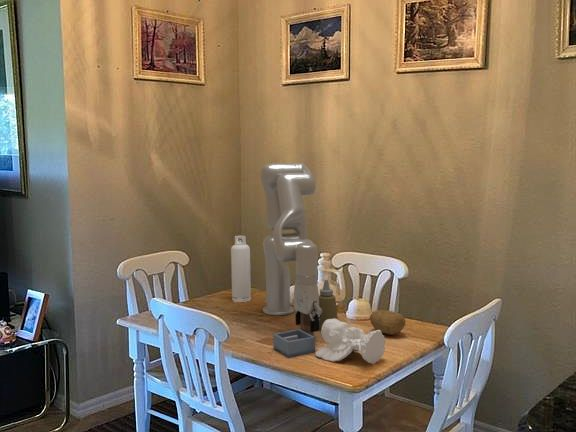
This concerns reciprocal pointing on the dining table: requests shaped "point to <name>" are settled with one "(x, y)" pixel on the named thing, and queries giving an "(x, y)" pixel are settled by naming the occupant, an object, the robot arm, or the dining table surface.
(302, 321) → the brown rectangular block
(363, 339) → the cherub figurine
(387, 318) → the potato
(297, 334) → the grey open storage bin
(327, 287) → the squeeze bottle
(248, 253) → the bottle
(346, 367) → the dining table surface
